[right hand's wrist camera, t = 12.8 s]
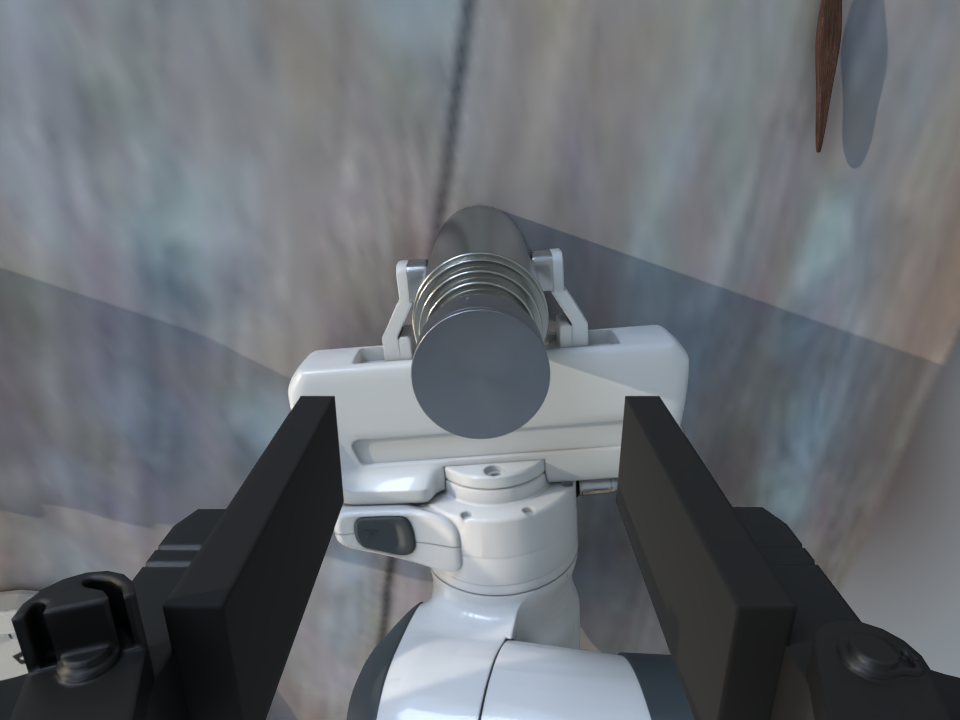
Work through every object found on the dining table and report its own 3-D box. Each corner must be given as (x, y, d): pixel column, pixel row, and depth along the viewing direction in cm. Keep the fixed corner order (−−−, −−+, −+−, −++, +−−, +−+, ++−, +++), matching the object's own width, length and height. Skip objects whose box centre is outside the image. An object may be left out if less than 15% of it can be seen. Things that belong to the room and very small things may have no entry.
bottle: (522, 295, 38) (561, 450, 20) (435, 293, 38) (396, 447, 20) (526, 206, 36) (573, 289, 18) (435, 204, 36) (390, 286, 18)
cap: (541, 415, 21) (546, 440, 19) (417, 413, 21) (411, 438, 19) (548, 294, 20) (554, 310, 18) (414, 292, 20) (408, 308, 18)
